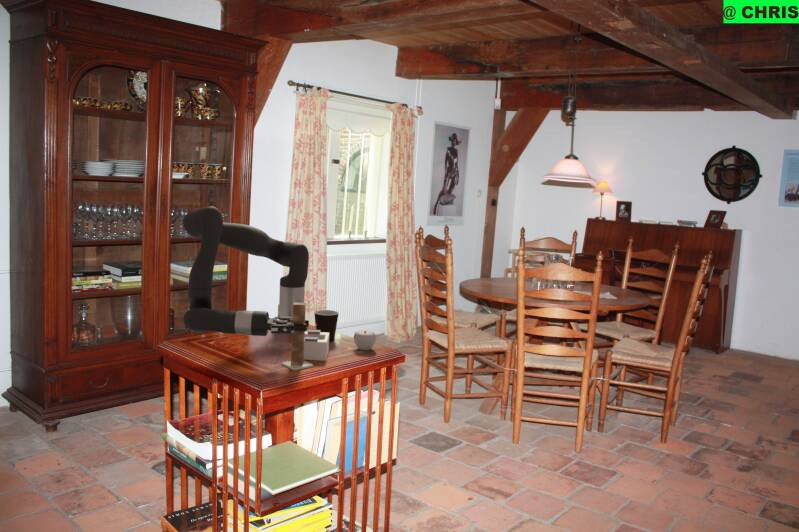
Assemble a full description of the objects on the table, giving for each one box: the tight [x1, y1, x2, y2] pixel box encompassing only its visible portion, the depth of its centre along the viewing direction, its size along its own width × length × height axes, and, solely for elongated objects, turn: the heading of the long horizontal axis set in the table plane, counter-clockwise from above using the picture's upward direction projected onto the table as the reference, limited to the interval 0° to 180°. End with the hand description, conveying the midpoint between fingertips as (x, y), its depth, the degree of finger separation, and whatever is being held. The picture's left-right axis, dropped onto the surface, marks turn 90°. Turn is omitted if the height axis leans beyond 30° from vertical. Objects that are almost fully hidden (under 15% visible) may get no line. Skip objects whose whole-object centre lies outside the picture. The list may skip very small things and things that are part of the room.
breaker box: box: [304, 329, 330, 361], centre depth 214 cm, size 10×13×7 cm
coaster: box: [281, 360, 314, 371], centre depth 202 cm, size 7×7×1 cm
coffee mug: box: [314, 309, 339, 343], centre depth 235 cm, size 12×9×10 cm
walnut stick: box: [290, 302, 307, 366], centre depth 200 cm, size 4×4×19 cm
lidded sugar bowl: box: [353, 330, 377, 351], centre depth 224 cm, size 8×8×7 cm
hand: (307, 325), depth 200 cm, fingers open, 4 cm apart
